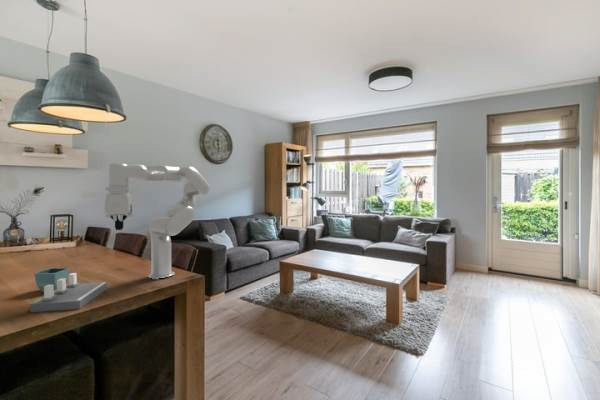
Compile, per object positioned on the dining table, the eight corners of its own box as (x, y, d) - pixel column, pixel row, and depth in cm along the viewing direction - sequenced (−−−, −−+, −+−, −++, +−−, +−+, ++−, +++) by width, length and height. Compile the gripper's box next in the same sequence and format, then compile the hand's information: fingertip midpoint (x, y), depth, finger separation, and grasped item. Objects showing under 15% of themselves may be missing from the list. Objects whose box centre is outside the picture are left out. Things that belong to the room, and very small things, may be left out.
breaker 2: (71, 284, 126) (71, 272, 126) (79, 284, 126) (78, 272, 126) (66, 287, 122) (66, 275, 122) (74, 286, 123) (74, 274, 123)
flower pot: (70, 286, 133) (70, 267, 132) (54, 293, 124) (54, 273, 124) (51, 287, 132) (50, 267, 132) (33, 293, 123) (33, 273, 123)
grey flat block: (67, 290, 127) (67, 283, 127) (107, 288, 130) (107, 281, 130) (30, 312, 105) (30, 303, 104) (79, 308, 108) (79, 300, 108)
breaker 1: (47, 297, 110) (47, 284, 110) (56, 297, 111) (56, 283, 111) (41, 301, 107) (41, 287, 106) (50, 300, 107) (50, 286, 107)
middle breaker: (60, 290, 118) (59, 278, 118) (68, 290, 119) (68, 277, 118) (54, 293, 114) (54, 280, 114) (63, 293, 115) (62, 280, 115)
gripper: (96, 189, 126) (97, 231, 126) (133, 190, 129) (134, 230, 129) (104, 190, 133) (104, 229, 133) (139, 190, 136) (139, 228, 136)
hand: (119, 229), depth 131 cm, fingers closed
